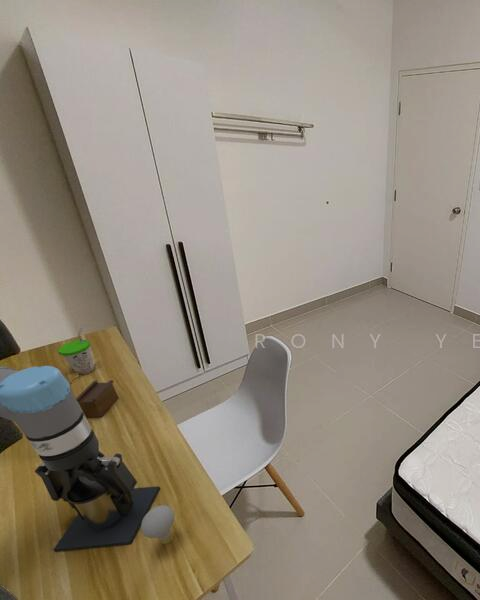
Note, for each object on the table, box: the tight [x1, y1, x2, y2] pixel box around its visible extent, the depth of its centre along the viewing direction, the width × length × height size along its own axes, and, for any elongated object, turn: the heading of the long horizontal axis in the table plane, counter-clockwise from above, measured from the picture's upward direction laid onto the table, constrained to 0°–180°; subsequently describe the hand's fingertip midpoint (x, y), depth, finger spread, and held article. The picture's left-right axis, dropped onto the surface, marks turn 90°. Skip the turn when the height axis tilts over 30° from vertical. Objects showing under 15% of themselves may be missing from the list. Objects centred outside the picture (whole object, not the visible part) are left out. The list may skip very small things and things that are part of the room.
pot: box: [67, 476, 122, 529], centre depth 69 cm, size 8×10×8 cm
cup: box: [57, 327, 95, 376], centre depth 109 cm, size 8×8×15 cm
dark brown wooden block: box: [75, 379, 119, 419], centre depth 97 cm, size 5×8×7 cm, turn 8°
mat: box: [52, 485, 161, 553], centre depth 72 cm, size 14×12×1 cm
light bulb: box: [140, 504, 175, 545], centre depth 67 cm, size 5×6×10 cm
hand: (108, 511), depth 71 cm, fingers closed on pot, 7 cm apart
